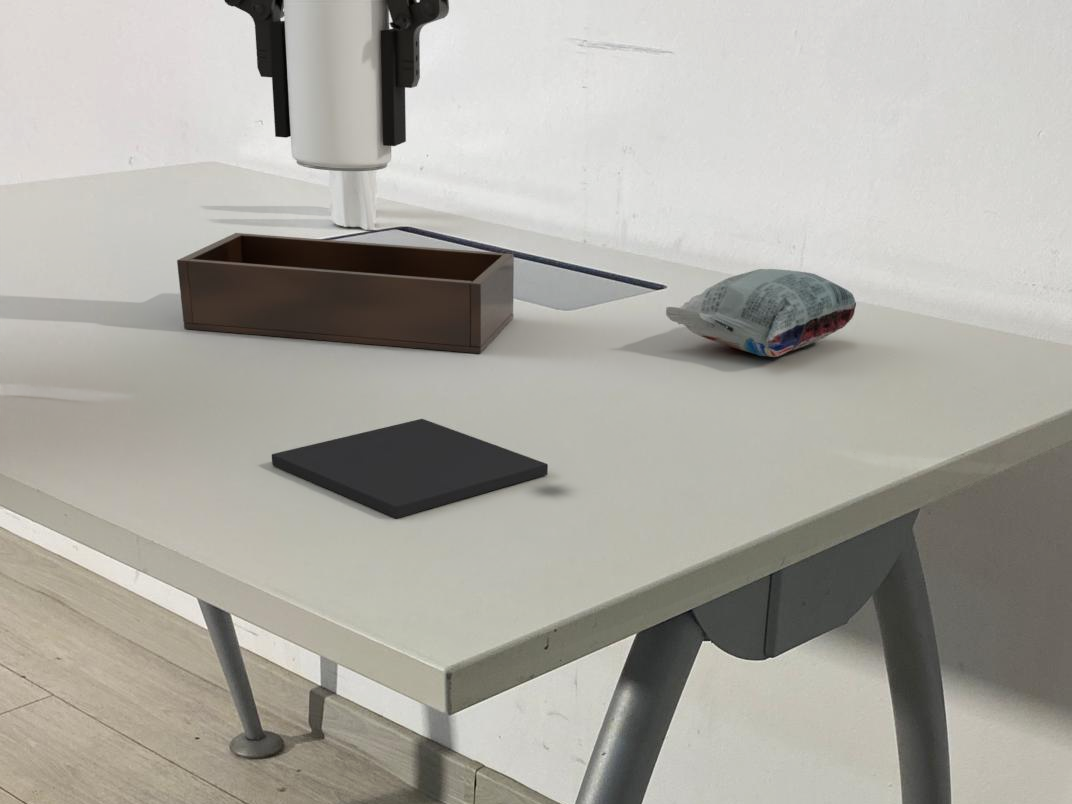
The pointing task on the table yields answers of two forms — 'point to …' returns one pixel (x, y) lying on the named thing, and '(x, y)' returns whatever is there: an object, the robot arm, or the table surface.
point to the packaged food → (767, 311)
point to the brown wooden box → (348, 292)
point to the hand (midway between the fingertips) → (341, 138)
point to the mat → (409, 466)
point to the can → (336, 83)
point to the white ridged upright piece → (353, 198)
